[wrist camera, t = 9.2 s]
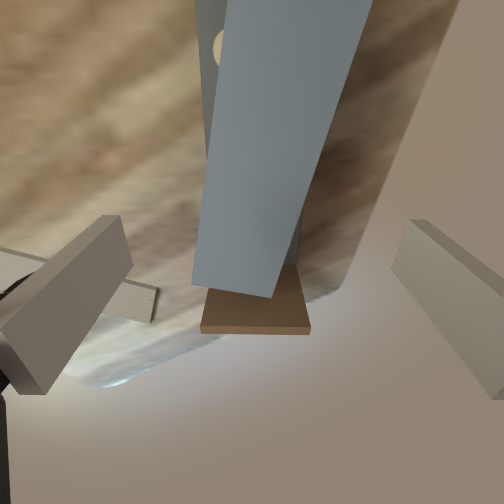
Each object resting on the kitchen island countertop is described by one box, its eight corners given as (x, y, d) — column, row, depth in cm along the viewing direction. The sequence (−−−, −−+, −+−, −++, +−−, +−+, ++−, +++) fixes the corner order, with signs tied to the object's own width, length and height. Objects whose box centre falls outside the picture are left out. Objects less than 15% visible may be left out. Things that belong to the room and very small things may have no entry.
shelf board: (198, 261, 32) (191, 284, 29) (238, -29, 19) (234, -58, 15) (269, 274, 33) (271, 298, 30) (353, 7, 20) (377, -13, 16)
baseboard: (150, 325, 48) (158, 284, 43) (145, 337, 45) (153, 296, 40) (-38, 282, 43) (-53, 230, 38) (-55, 294, 40) (-73, 240, 35)
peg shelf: (215, 266, 40) (201, 333, 29) (193, -53, 23) (136, -189, 12) (294, 267, 40) (309, 335, 29) (332, -50, 23) (407, -183, 12)
